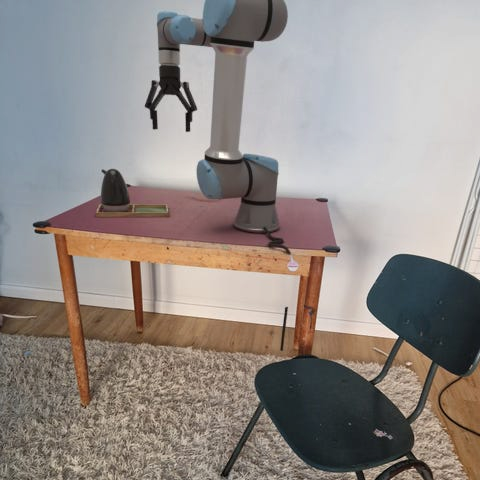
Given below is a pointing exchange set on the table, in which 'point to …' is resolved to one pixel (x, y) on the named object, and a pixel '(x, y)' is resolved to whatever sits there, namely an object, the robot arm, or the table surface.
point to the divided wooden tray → (138, 211)
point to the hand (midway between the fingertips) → (171, 130)
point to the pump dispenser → (114, 192)
